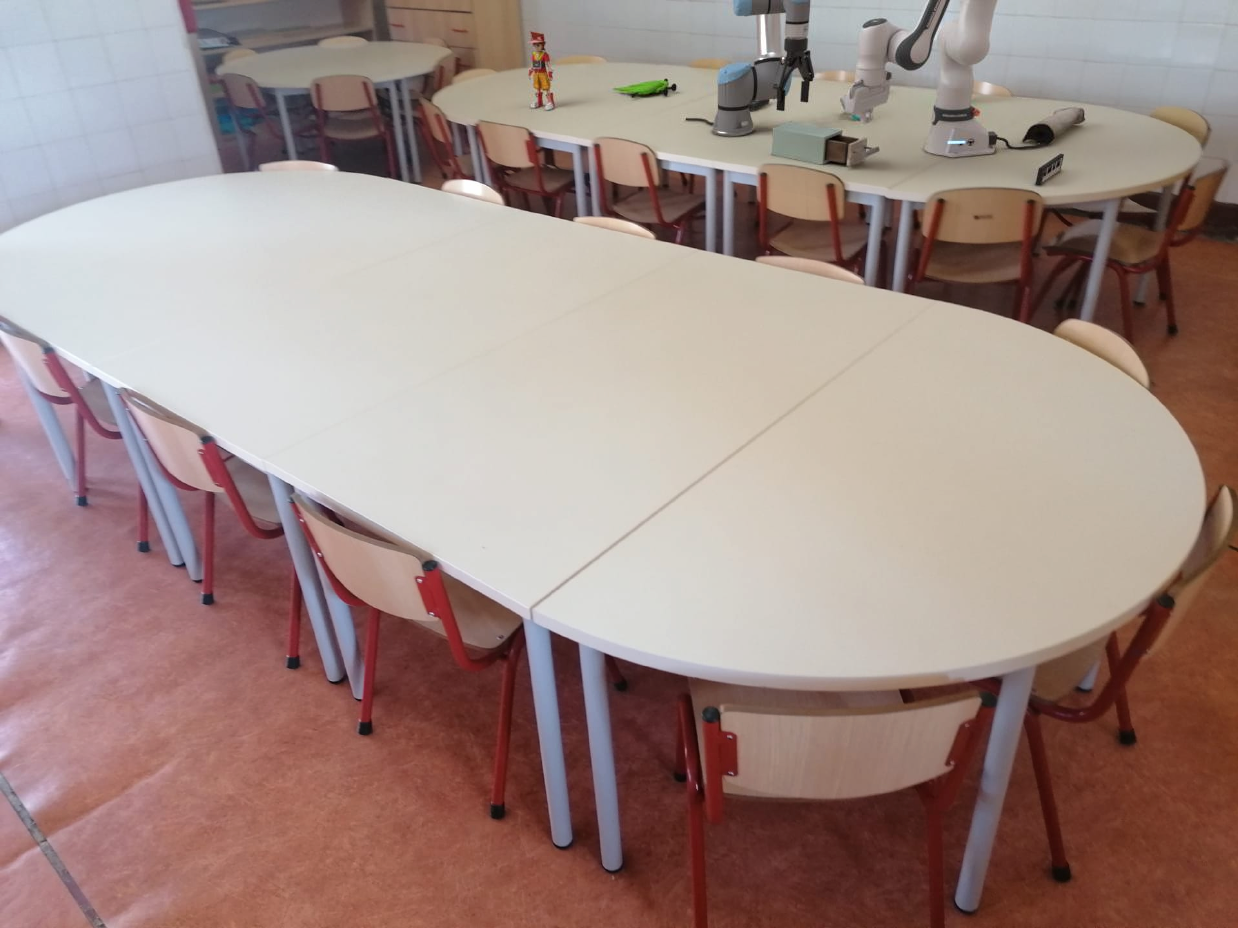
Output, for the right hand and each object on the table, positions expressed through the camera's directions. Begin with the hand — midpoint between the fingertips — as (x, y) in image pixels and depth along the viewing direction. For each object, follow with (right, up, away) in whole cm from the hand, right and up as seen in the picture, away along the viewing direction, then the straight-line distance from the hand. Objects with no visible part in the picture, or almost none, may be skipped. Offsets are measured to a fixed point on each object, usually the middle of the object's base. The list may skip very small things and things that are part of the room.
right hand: (864, 123), depth 286 cm
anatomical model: (+12, +25, +59) cm, 66 cm away
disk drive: (-25, +38, +80) cm, 92 cm away
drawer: (-5, -7, +12) cm, 15 cm away
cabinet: (-15, -3, +21) cm, 25 cm away
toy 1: (-111, +44, +97) cm, 154 cm away
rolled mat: (+73, +6, +26) cm, 78 cm away
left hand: (-20, +12, +16) cm, 28 cm away
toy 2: (-69, +56, +111) cm, 142 cm away
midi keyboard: (+53, -21, -11) cm, 58 cm away
